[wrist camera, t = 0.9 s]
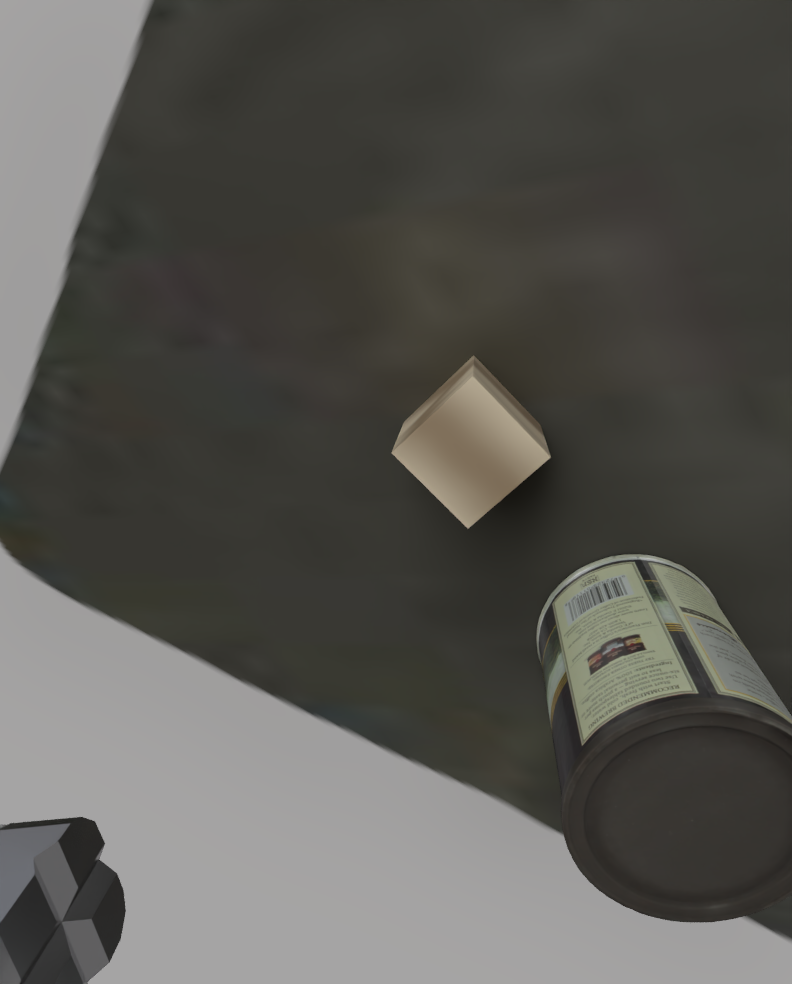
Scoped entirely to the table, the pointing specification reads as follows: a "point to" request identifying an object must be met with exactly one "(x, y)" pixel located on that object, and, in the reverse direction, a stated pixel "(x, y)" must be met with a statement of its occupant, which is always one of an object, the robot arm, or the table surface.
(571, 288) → the table surface
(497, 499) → the beech block
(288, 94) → the table surface
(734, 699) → the coffee can
